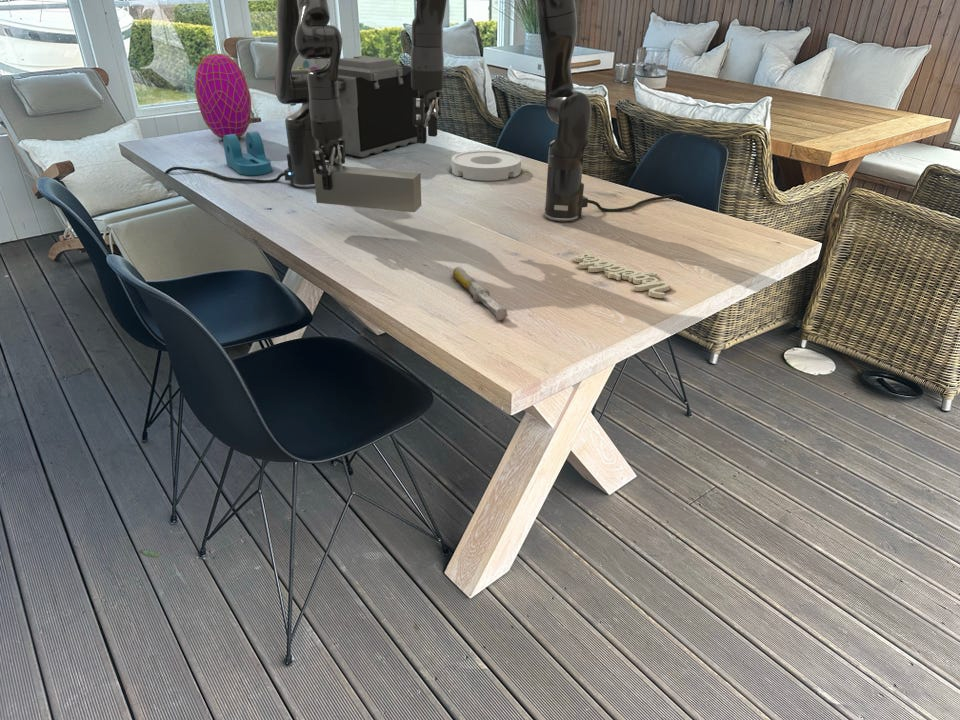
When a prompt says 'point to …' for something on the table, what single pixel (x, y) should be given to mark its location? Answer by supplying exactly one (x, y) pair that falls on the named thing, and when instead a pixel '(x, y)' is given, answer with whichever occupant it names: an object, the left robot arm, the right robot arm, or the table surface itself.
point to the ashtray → (486, 165)
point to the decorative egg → (223, 95)
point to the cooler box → (375, 105)
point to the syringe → (479, 293)
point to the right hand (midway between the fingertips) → (427, 139)
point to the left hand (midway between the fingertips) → (332, 185)
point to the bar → (371, 188)
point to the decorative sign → (625, 274)
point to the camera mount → (246, 154)
